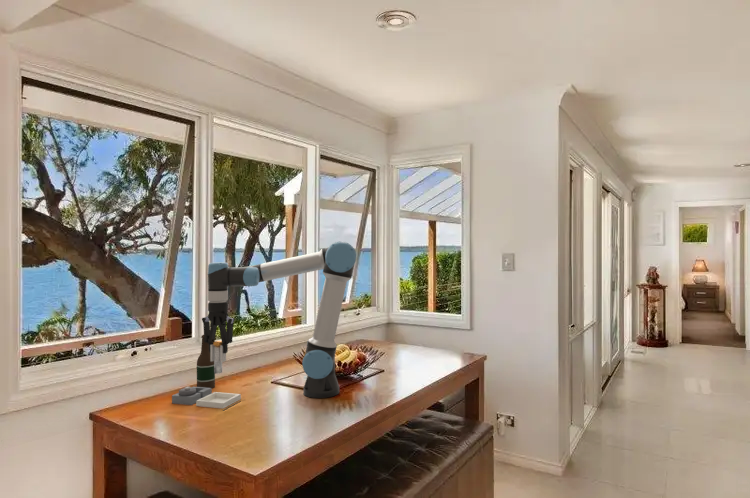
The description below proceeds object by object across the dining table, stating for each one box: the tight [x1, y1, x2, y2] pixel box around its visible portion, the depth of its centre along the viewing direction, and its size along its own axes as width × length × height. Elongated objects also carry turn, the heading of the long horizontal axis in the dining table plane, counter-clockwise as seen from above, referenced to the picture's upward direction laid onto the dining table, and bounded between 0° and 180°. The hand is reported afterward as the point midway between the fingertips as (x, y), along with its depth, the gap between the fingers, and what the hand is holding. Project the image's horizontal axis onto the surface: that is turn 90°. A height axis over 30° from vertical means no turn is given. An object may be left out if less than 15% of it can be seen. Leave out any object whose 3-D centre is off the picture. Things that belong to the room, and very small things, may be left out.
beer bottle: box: [196, 334, 216, 389], centre depth 213 cm, size 8×8×24 cm
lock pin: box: [213, 340, 223, 375], centre depth 191 cm, size 4×4×12 cm
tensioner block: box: [171, 386, 213, 406], centre depth 196 cm, size 13×9×7 cm
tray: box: [195, 391, 242, 412], centre depth 191 cm, size 12×12×3 cm
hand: (218, 360), depth 191 cm, fingers closed on lock pin, 4 cm apart
